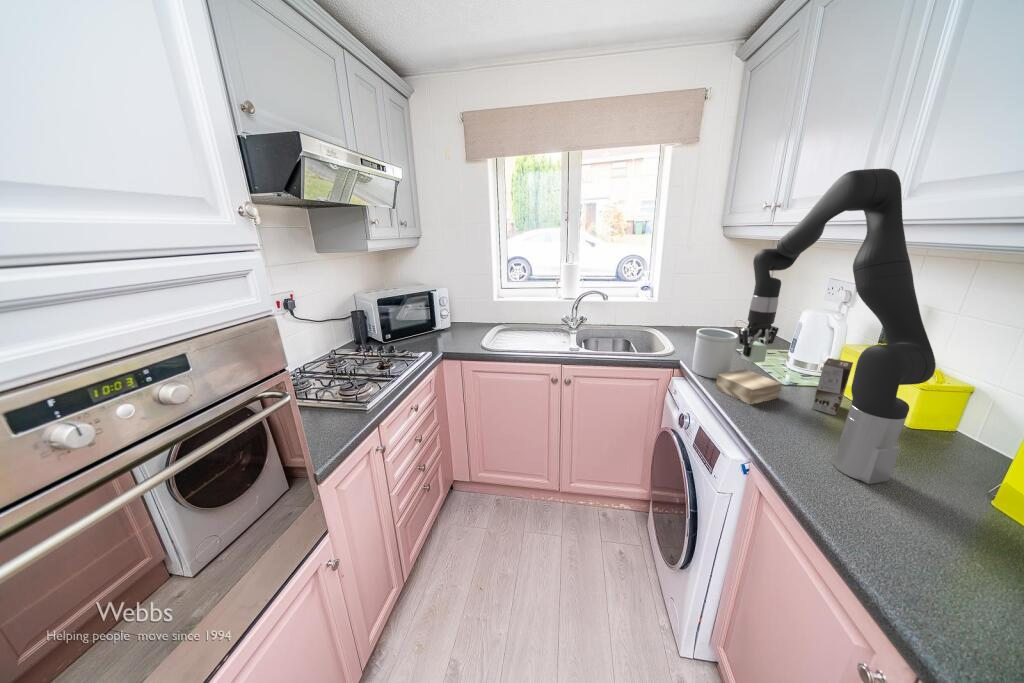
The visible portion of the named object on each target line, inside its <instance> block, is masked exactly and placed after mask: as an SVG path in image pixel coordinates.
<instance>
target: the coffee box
mask: <svg viewBox="0 0 1024 683" xmlns="http://www.w3.org/2000/svg"><path fill="white" fill-rule="evenodd" d="M853 364H854V362H852V361H847V360H842V359H835V358H830V357H829V358H827V359H826V361H825V362H824V363H823V366H822V370H821V373H820V377H819V381H818V385H817V387H816V390H815V395H814V399H813V402H812V406H811V410H815V411H819V412H822V413H826V414H829V415H832V416H836V415H837V413H838V411H839V409H840V407H841V404H842V401H843V397H844V394H845V391H846V388H847V385H848V382H849V377H850V375H851V370H852V368H853Z"/></svg>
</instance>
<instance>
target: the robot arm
mask: <svg viewBox="0 0 1024 683" xmlns="http://www.w3.org/2000/svg"><path fill="white" fill-rule="evenodd" d="M902 199H903V197H902V183H901V179H900V176H899V174H898V173H897V172H896V171H895V170H893V169H890V168H869V169H868V168H867V169H865V168H864V169H855V170H851V171H848V172H846V173H844V174H842V175H841V176H840V177H839V178H837V180H836V181H835V182H833V184H832V185H831V186H830V187H829V188H828V189H827V191H825V192H824V194H823V195H822V196H821V197H820V199H819V200H818V201H817V202H816V203H815V204H814V206H813V207H812V208H811V209H810V211H809V212H808V213H807V214H806V215H805V216H804V218H803V219H802V220H801V221H800V222H798V223H797V225H795V226H794V227H793V228H792V229H790V230H789V231H788V232H787V233H786V234H784V236H782V237H781V238H780V239H779V240H778V242H777V244H776V248H762V249H760V250H759V251H758V252H756V253H755V255H754V258H753V265H752V266H753V271H754V280H755V283H754V284H755V285H754V290H753V294H752V299H751V301H750V305H749V309H748V310H749V311H748V316H747V322H748V325H747V326H746V327H744V328H742V327H740V328H739V329H738V341H739V344H740V345H742V346H743V345H744V350H743V354H744V356H746V357H750V353H751V348H752V345H753V343H754V342H755V341H757V340H758V342H760V343H763V344H765V345H768V346H769V345H770V344H771V345H772V344H773V343H774V340H775V339H776V336H777V334H778V332H779V329H780V328H779V327H777V326H773V324H774V323H775V319H776V314H777V310H778V307H779V306H778V305H779V296H780V293H781V286H782V281H781V279H779V278H776V277H771V274H770V272H771V271H772V272H773V271H778V272H779V271H785V270H787V269H789V268H790V267H792V266H793V264H794V263H795V262H796V261H797V259H798V258H799V257H800V255H801V254H802V253H803V252H804V251H806V250H807V249H809V248H810V247H812V246H813V245H814V244H815V243H816V242H817V241H818V240H820V238H821V237H822V236H823V233H824V231H825V227H826V224H828V222H829V221H830V220H832V219H833V218H835V217H836V216H838V215H840V214H842V213H844V212H858V211H860V212H861V211H863V212H864V216H865V220H866V221H865V222H866V234H865V238H864V240H863V243H862V244H861V246H860V247H859V249H858V251H857V254H856V256H855V258H854V259H853V260H854V261H853V264H852V274H853V278H854V284H855V289H856V292H857V295H858V296H859V297H860V299H861V300H862V302H863V303H864V304H865V305H866V307H868V309H869V310H870V312H872V313H873V314H874V316H875V317H876V318H877V319H878V320H879V322H880V324H881V326H882V329H883V332H884V336H885V340H886V343H885V344H876V345H871V346H868V347H866V348H865V349H864V350H862V352H861V353H860V355H859V357H858V359H857V362H856V365H855V370H854V375H853V379H852V383H851V388H850V389H851V391H850V392H851V396H852V399H851V403H850V406H849V410H848V412H847V416H846V419H845V422H844V425H843V429H842V432H841V436H840V439H839V440H838V441H839V442H838V445H837V448H836V452H835V455H834V458H833V462H832V463H833V466H834V467H835V468H836V469H837V470H838V471H839V472H840V473H842V474H844V475H846V476H848V477H850V478H853V479H856V480H859V481H861V482H863V483H865V484H866V485H872V484H878V483H879V484H880V483H884V482H889V481H890V478H891V477H892V476H891V475H892V473H893V470H894V467H895V464H896V462H897V460H898V456H899V455H900V454H899V453H900V451H901V446H900V445H897V444H898V441H899V439H900V436H901V433H902V430H903V428H904V425H905V423H906V420H907V418H908V414H909V412H910V405H909V403H907V402H906V401H905V400H903V399H902V398H900V397H897V395H898V392H899V387H900V386H904V385H905V386H906V385H910V386H911V385H918V384H919V385H920V384H924V383H926V382H927V381H929V380H930V379H931V378H932V377H933V376H934V374H935V372H936V367H937V365H936V358H935V355H934V350H933V348H932V345H931V343H930V340H929V337H928V334H927V332H926V328H925V325H924V323H923V319H922V316H921V312H920V306H919V302H918V298H917V294H916V289H915V283H914V274H913V269H912V265H911V260H910V256H909V254H908V253H909V252H908V249H907V241H906V235H905V228H904V220H903V200H902ZM748 342H749V343H748Z"/></svg>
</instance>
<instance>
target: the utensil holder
mask: <svg viewBox="0 0 1024 683" xmlns="http://www.w3.org/2000/svg"><path fill="white" fill-rule="evenodd" d="M695 334H696V338H695V344H694V349H693V350H694V351H693V356H692V359H693V360H692V364H691V370H692V372H693V373H694V374H696V375H698V376H701V377H705V378H709V379H717V375H719V374H724V373H729V372H731V371H730V370H731V367H732V364H733V363H732V362H733V358H734V353H735V349H736V346H737V345H736V344H737V340H739V334H737V333H735V331H734V332H733V331H731V330H728V329H722V328H715V327H713V328H712V327H704V328H702V327H701V328H699V329H697V330H696V333H695Z"/></svg>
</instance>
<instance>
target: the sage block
mask: <svg viewBox="0 0 1024 683" xmlns="http://www.w3.org/2000/svg"><path fill="white" fill-rule="evenodd" d="M749 342H750V341H749ZM749 342H748V343H749ZM768 348H769V344H768V345H765V344H763V343H760V342H759V341H757V340H756V341H755V342H754V343H753V345H752V348H751V353H750V357H746V356H744V354H743V350H744V345H742V349H741V356H740V358H741V359H743V360H745V361H747V362H750V363H762V362H763V363H764V362H765V361H766V356H767V353H768Z"/></svg>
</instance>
